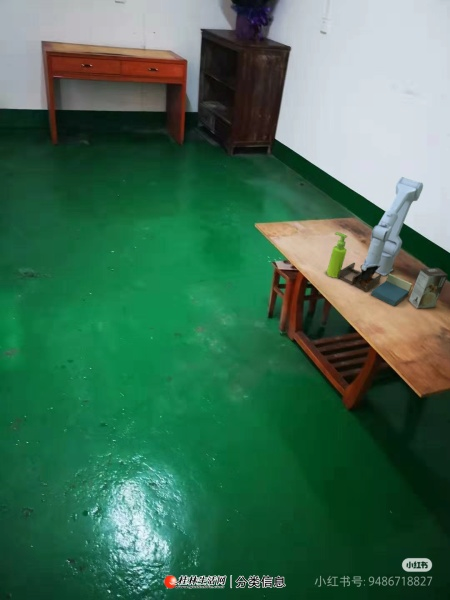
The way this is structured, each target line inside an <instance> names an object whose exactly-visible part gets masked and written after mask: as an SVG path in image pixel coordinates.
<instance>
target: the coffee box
mask: <svg viewBox="0 0 450 600" xmlns="http://www.w3.org/2000/svg"><path fill="white" fill-rule="evenodd" d="M448 276H449V275H448V274H447V273H446V272H445V271H443V270H442V269H441V268H439V267H432V268H431V267H428V268H420V270H419V272H418V275H417V278H416V281H415V283H414V286H413V288H412V291H411V294H410V296H409V299H408V301H409V302H410V303H411V305H413V306H414V307H415V308H416V309H428V308H435V307H436V305H437V302H438V300H439V297H440V295H441V293H442V290H443V288H444V285H445V284H446V280H447V279H448Z"/></svg>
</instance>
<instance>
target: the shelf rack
mask: <svg viewBox="0 0 450 600" xmlns="http://www.w3.org/2000/svg"><path fill="white" fill-rule="evenodd" d="M355 266H356V262H352V263H351V264H349V265H347V266H345V267H344V268H342V269H341V270H340V271H339V275H338V277H337V279H338V280H341V281H343V282H345V283H347V284H349V285H350V286H353V287H355V288H358V289H360V290H361V291H363V292H365V293H366V292H368V291H369V290H371V289H372V288H374V287H375V286H376V285H378V284H380V281H381V279H382V276H383V275H381V274H379V275H377V276H375V277H372V279H371V281H370V282H368V283H367V284H366V286H364V285H362V284H359V283H358V282H361V279H362V272H361V271H358V270H357V269H355ZM351 272H352V273H354V274H356V275H354V276H352V278H351V280H350V279H348V278H346V277H345V276H346V275H348V274H350V273H351Z"/></svg>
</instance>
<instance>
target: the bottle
mask: <svg viewBox="0 0 450 600" xmlns="http://www.w3.org/2000/svg"><path fill="white" fill-rule="evenodd" d="M373 277H374V275H373V274H372V273H371V274H370V275H369V278H368V280H367V281H366V282H365V281H362V279H361V280H360V281H359V283H360V285H361V286H363V287H366V284H367V283H368V282H370V281H371V279H372V278H373Z"/></svg>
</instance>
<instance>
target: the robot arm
mask: <svg viewBox="0 0 450 600" xmlns="http://www.w3.org/2000/svg"><path fill="white" fill-rule="evenodd" d="M423 189H424V183H423V182H420V181H416V180H412V179H409V178H407V177H403V176H401V177H400V178H399V179H398V180H397V182H396V185H395V197H394V199H393V202H392V203H391V205H390V208H389V209H388V210H385V212H384V214H383V215H382V217H381V219H380V220H379V222H378V224H377V225H375V226H374V227H373V229H372V231H371V233H370V234H371V235H370V245H369V246H368V251H367V253H366V257H365V259H364V261H363V264H360V266H359V268H360V272H362V281H365V282H366V281H367V280H368V278H369V275H370V274H371V273H372V274H373V276H374V275H375V274H376V273H377V274H379V275H382V276H384V277H385V276H388V274H391V272H392V271H394V268H393V265H394V263H395V259H396V257H397V256H399V253H400V251H401V248H402V245H403V240H402V238H401V237H400V233H401V231H402V228H403V225H404V223H405V220H406V217H407V216H408V213H409V211H410V208H411V206H412V204H413V202H417V201H418V200H419V199H420V196H421V194H422V191H423Z"/></svg>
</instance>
